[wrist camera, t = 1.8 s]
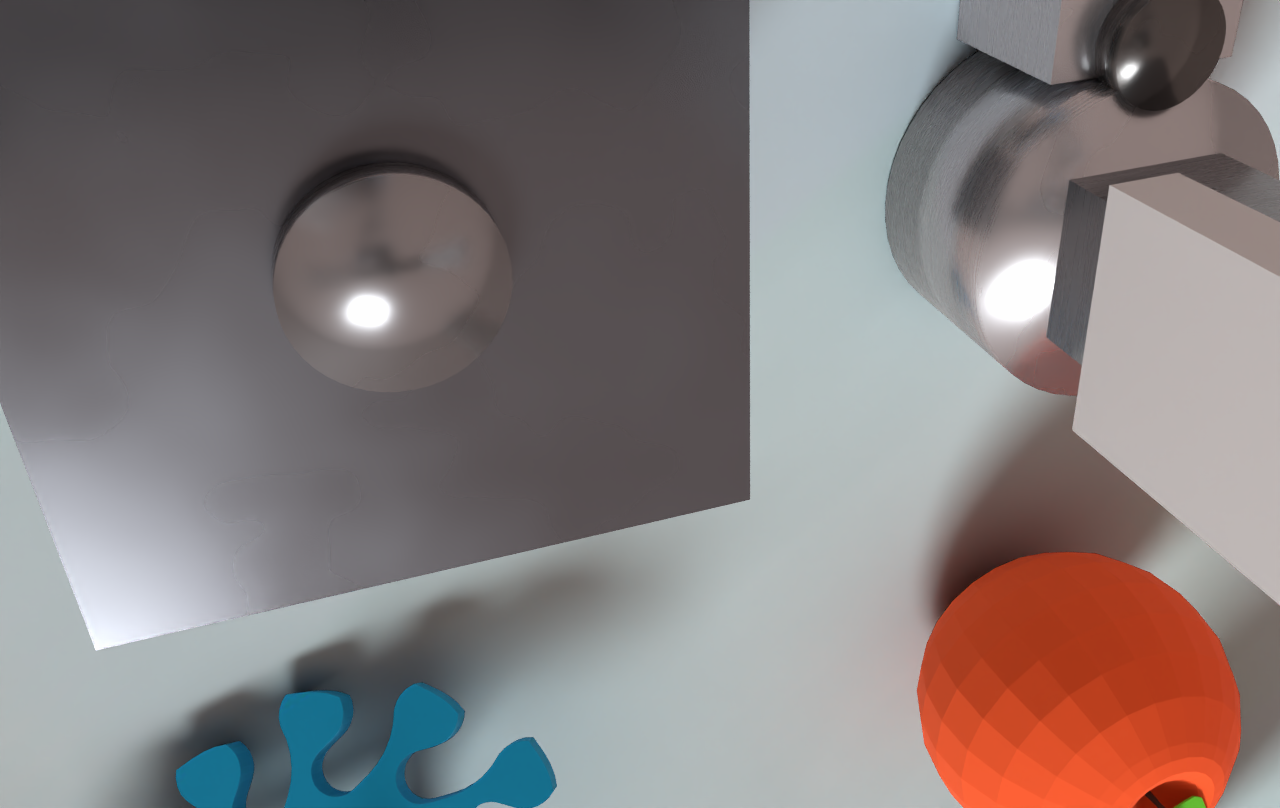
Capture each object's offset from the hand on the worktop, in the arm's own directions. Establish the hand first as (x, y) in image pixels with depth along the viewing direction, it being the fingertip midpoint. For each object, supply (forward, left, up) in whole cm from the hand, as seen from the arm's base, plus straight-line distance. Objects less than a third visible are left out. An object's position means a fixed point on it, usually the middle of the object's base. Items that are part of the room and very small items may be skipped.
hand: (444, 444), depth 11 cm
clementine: (+16, +14, -11) cm, 24 cm away
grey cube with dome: (0, 0, -11) cm, 11 cm away
